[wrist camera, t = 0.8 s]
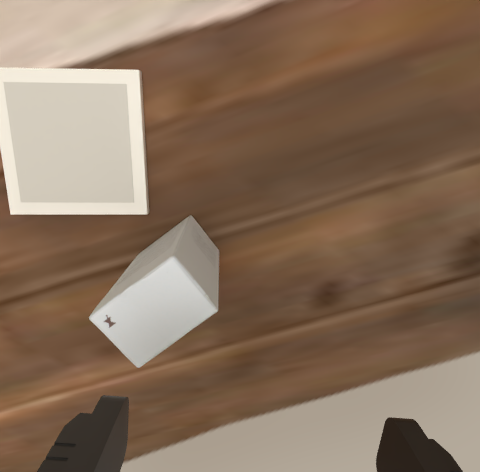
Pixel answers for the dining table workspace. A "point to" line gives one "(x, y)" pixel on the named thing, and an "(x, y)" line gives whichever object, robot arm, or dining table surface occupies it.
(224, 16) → the dining table surface
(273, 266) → the dining table surface
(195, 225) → the skincare box
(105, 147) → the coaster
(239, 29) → the dining table surface
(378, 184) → the dining table surface
